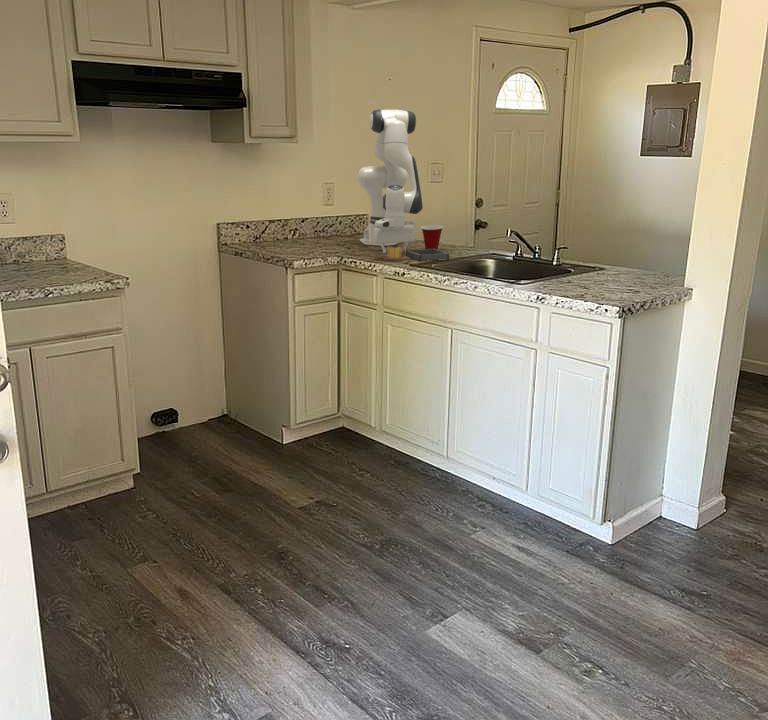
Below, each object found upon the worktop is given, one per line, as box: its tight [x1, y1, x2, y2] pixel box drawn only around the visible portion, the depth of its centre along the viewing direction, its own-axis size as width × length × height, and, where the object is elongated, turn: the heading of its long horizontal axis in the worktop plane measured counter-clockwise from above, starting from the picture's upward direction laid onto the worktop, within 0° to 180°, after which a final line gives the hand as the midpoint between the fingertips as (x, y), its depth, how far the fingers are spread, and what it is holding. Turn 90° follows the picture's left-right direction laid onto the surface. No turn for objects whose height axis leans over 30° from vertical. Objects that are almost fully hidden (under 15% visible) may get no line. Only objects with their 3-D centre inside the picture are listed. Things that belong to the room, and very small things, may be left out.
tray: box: [405, 248, 450, 262], centre depth 352 cm, size 15×15×3 cm
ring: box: [386, 245, 402, 258], centre depth 349 cm, size 6×6×4 cm
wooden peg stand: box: [377, 244, 411, 262], centre depth 349 cm, size 11×11×6 cm
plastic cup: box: [420, 224, 444, 250], centre depth 371 cm, size 11×11×12 cm
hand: (394, 252), depth 349 cm, fingers open, 8 cm apart
